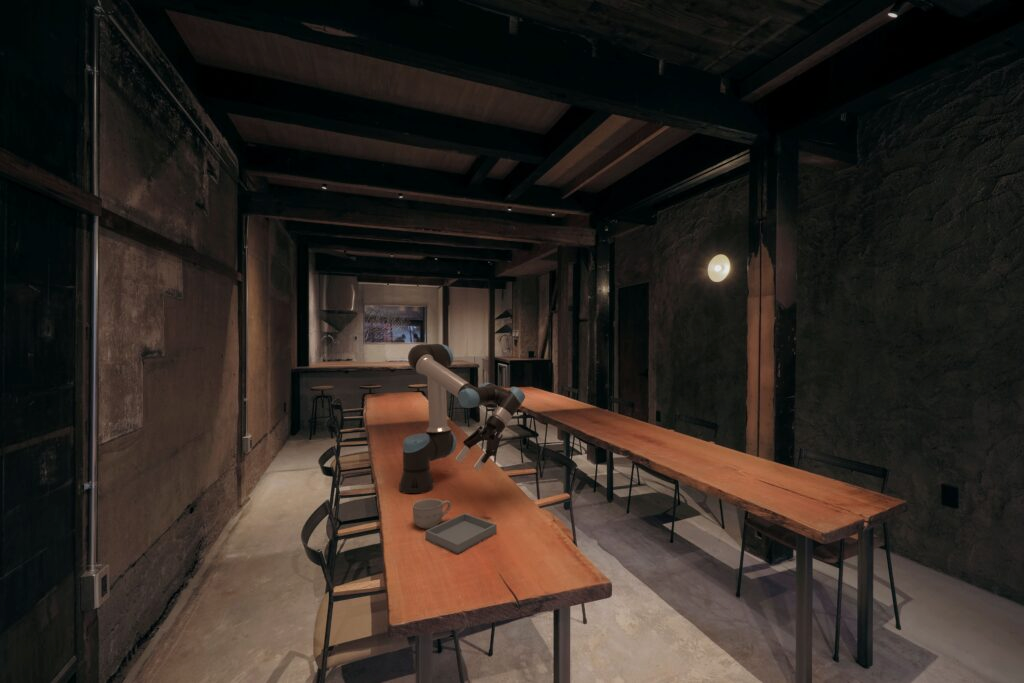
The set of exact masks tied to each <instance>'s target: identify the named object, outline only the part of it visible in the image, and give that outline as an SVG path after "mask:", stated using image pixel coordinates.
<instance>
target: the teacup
mask: <svg viewBox="0 0 1024 683" xmlns="http://www.w3.org/2000/svg"><path fill="white" fill-rule="evenodd" d="M446 504H447V507H446V509H445V510H444V506H445V505H446ZM451 508H452V503H451V501H449V500H448V499H447V500H444V501H443V500H441V499H439V498H425V499H420V500H417V501H415V502H414V503H413V504H412V516H413V517H412V519H413V523H414V524H415V525H416V526H418V527H419V528H421V529H425V530H428V529H431V528H433V527H435V526H437V525H439V524H441V523H440V522H441V521H442V519H443V517H445V515H446V514H447V513H448V512H449V511H450V510H451ZM443 510H444V511H443Z"/></svg>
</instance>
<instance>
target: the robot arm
mask: <svg viewBox="0 0 1024 683" xmlns="http://www.w3.org/2000/svg"><path fill="white" fill-rule="evenodd" d="M407 362H408V365H409V366H410V367H411V368H410V369H412V370H413V371H414V372H416V373H417V374H419V375H424V376H425V377H427V402H428V404H427V405H428V427H427V429H426V430H425V432H423V433H421V432H420V433H415V434H411V435H409V436H407V437H405V438H404V440H403V443H402V475H401V478H400V481H399V484H398V489H399V490H400V491H402V492H405V493H404V494H406V493H420V494H423V493H422V492H425V493H427V492H426V491H428V492H430V491H432V490H433V489H434V488H435V486H434V480H433V476H432V473H431V471H430V469H431V468H430V464H431V463H430V462H433V461H435V460H436V461H437V460H439V459H443V458H444V459H445V458H446V457H448V456H450V455H452V454H453V453H454V451H455V450H456V447H457V437H456V436H455V433H454V432H453V431H452V429H451V427H449V425H448V406H447V405H448V404H447V403H448V402H447V391H448V392H449V393H450V394H452V395H453V396H455V398H457V400H458V403H459V404H460V406H461V407H462V408H465V409H468V408H471V409H472V408H476V407H481V406H485V405H490V404H492V405H496V407H495V409H494V410H493V412H492V413H491V415H490V416H489V417H488V419H487V420H486V421H485V427H483V426H482V425H480V426H479V427H478V428H477V429H476V430H475V431H474V432H473V433H471V434H470V435H469V436H468V437H467V438H466V439H465V440H464V441H462V443H463V445H464V446H463V447H462V449H461V450H460V451H459V453H458V454H457V455H456V457H455V460H456V461H457V462H458V463H459V464H461V463H462V462H463V460H464V459H465V457H467V455H468V454H469V452H470V451H471V448H472V447H474V446H475V445H477V444H478V443H480V442H484V441H486V447H485V448H486V449H485V450H484V451H483V453H482V454H481V455H480V457H479V458H478V460H477V461H476V462H475V464H474V465H473V468H474V469H475V470H476V471H478V472H480V470H482V468H483V467H484V465H485V464H486V463H487V462H488V460H489V458H491V457H492V456H493V457H495V456H497V452H498V448H499V446H500V442H501V440H502V438H503V436H504V434H502V432H503V431H504V429H505V428H506V426H507V425H508V423H510V420H512V418H513V417H514V415H515V414H516V412H517V411H518V410H519V408H520V407H521V406H522V404H523V402H524V401H525V399H526V395H525V393H524V391H523V390H522V389H521V388H519V387H517V386H511V387H510V388H509V389H506V388H505V389H504V388H502V387H500V386H498V385H496V384H494V383H490V382H484V383H482V385H480V386H479V387H476V386H474V385H472V384H471V383H469V382H468V381H466V380H465V379H464V378H462V377H460V376H459V375H458V374H456V373H454V372H453V371H451V370H450V369H449V368H450V367H451V366H452V364H453V363H454V355H453V352H452V349H451V348H450V347H449V346H448V345H446V344H442V343H430V344H429V343H427V344H424V343H423V344H421V343H420V344H417V345H415V346H413V347H412V348H411V349H410V350H409V352H408V354H407ZM432 488H433V489H432ZM431 489H432V490H431ZM399 490H398V491H399ZM429 490H430V491H429ZM400 491H399V492H400ZM402 492H401V493H402Z"/></svg>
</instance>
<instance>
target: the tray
mask: <svg viewBox="0 0 1024 683" xmlns="http://www.w3.org/2000/svg"><path fill="white" fill-rule="evenodd" d="M495 533H496V534H497V523H496V524H495V523H494V522H491V521H489V520H485V519H482V518H480V517H477V516H474V515H471V514H469V513H465V512H464V513H461V514H459V515H457V516H455V517H453V518H451V519H449V520H446V521H443V522H442V523H438V525H437V526H435V527H433V528H427V529H425V532H424V534H425V535H424V536H425V538H424V539H425V541H427V542H429V543H431V544H434V545H436V546H438V547H440V548H442V549H444V550H447V551H449V552H451V553H453V554H456V555H460V554H461V553H463V552H465V551H467V550H469V549H470V547H471V546H472V547H474V546H476V545H478V544H479V542H480V541H481V542H483V541H485V540H486V538H487V539H489V538H490V536H491V537H492V536H494V535H496V534H495ZM493 534H494V535H493ZM488 537H489V538H488ZM484 539H485V540H484ZM482 540H483V541H482ZM481 542H480V543H481ZM477 543H478V544H477ZM475 544H476V545H475ZM473 545H474V546H473ZM472 547H471V548H472ZM468 548H469V549H468ZM466 549H467V550H466Z"/></svg>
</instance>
